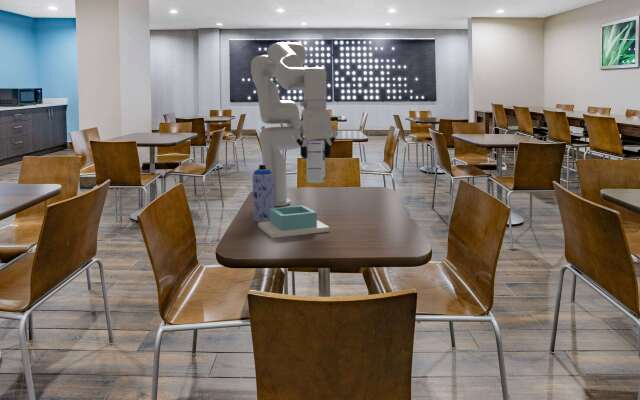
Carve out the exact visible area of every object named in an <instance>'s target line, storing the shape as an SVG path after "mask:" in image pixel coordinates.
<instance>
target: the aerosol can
mask: <svg viewBox="0 0 640 400" xmlns="http://www.w3.org/2000/svg"><path fill="white" fill-rule="evenodd" d="M251 179H252V201H253V203H252V205H253V217H252V218H253V221H254V222H267V221H270V208H275V206H274V191H273V173H272V172H271V171H270V170H268V169H267V168H266V166H265V165H263V164H259V165H258V168H257V169H256V170H254V172H253V173H252V178H251Z"/></svg>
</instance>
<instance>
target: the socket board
mask: <svg viewBox="0 0 640 400" xmlns="http://www.w3.org/2000/svg"><path fill="white" fill-rule="evenodd" d="M257 222H258V223H257V225H258V228H259V229H261V231H263V232H264V233H266V234H267V236H269V237H270V238H272V239H274V238H275V239H276V238H284V237H291V236H293V237H294V236H300V235H301V236H302V235H309V234H317V233H318V234H319V233H328V232H330V226H328V225H327V224H325V223H324V222H321V221H320V220H318V213H317V211H315V210H313V209H312V208H310V207H308V206H306V205H304V204H303V205H301V204H300V205H290V206H278V207H274V208H270V221H265V222H260V221H257Z"/></svg>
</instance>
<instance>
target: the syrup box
mask: <svg viewBox="0 0 640 400" xmlns="http://www.w3.org/2000/svg"><path fill="white" fill-rule="evenodd" d="M306 147H307V158H306V159H305V161H306V162H305V164H306V167H305V168H306V183H309V184H323V183H324V182H325V181H326V180H327V179H326V178H327V176H326V157H325V140H324V139H319V140H308V142H307V144H306Z"/></svg>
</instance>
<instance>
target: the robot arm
mask: <svg viewBox="0 0 640 400" xmlns="http://www.w3.org/2000/svg"><path fill="white" fill-rule="evenodd" d="M306 59H307V52H306V49H305V46H303V44H301V43H298V42H282V41H281V42H275V43H272V44H271V45H270V46H269V47H268V50H267V54H262V55H256V56H255V57H254V58H252V60H251V63H250V72H251V77H252V81H253V83H254V86H255V89H256V92H257V100H258V106H259V113H260V115H259V116H260V119H261V121H262V123H263V124H266V125H286V126H271V127H270V126H269V127H266V128H263V129H262V130H261V131H260V133H259V144H260V150H261V155H262V157H261V159H262V165H265V166H266V168H267V169H268V170H270V171H271V172H272V173H273V191H274V207H285V206H288V205H290V204H291V202H292V201H291V199H290V198H288V196H287V194H288V193H287V189H288V188H287V162H286V158H285V157H284V155H283V154H282V153H281V151H287V150H288V151H291V150H298V149H300V157H301V158H302V159H303V160H306V158H307V147H306V144H307V142H308V140H319V139H324V140H325V158H330V155H331V153H332V152H331V146H332V144H333V143H334V142H335V141H336V138H337V137H338V135H339V132H337V130H335V129H334V128H332V121H331V120H332V119H331V114H330V109H328V108H327V72H326V71H327V70H326V69H325V68H323V67H303V65H304V64H305V62H306ZM271 78H275V79H276V82H277V84H278V85H279V86H281V88H283V89H284V90H288V91H303V101H302V102H300V103H299V104H300V107H303V109H302V110H301V114H300V110H299V107H298V104H297V103H296V102H295V101H293V100H287V99H285V100H284V99H283V100H281V99H280V93H279V88H278V86H277V85H276V84H275V82H274V81H273V80H272V79H271Z"/></svg>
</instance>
